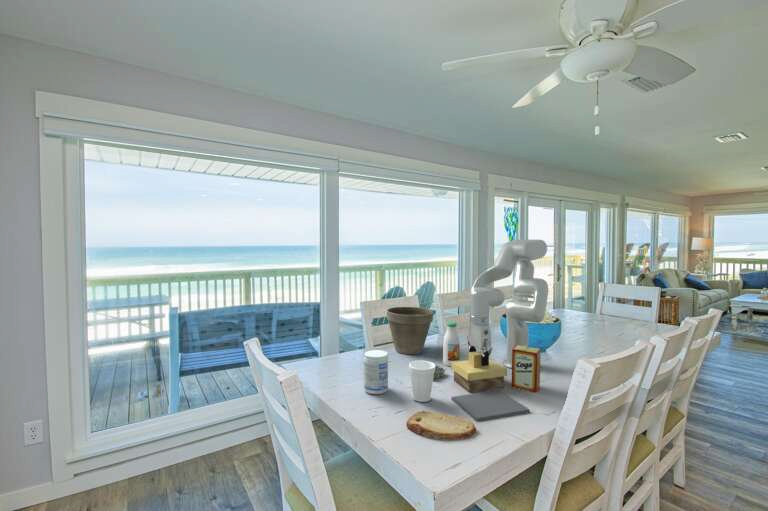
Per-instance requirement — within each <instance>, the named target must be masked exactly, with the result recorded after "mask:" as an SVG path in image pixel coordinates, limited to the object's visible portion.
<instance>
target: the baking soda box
mask: <svg viewBox="0 0 768 511" xmlns="http://www.w3.org/2000/svg"><path fill="white" fill-rule="evenodd" d="M541 352H542V350H541V348H537V347H530V346H529V345H528V346H520V345H516V346H515V347H514V348H513V349H512V369H511V388H514V387H515V388H514V389H518V388H520V389H519V390H523V389H524V390H523V391H527V390H529V391H528V392H532V391H533V392H532V393H537V392H538V391H539V389H540V387H541V384H540V383H541ZM537 390H538V391H537Z"/></svg>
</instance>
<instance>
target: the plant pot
mask: <svg viewBox="0 0 768 511" xmlns="http://www.w3.org/2000/svg"><path fill="white" fill-rule="evenodd" d="M386 320H387V321H388V324H389V329H390V334H391V337H392V342H393V346H394V348H395V349H394V350H395V352H397V353H400V354H405V355H417V354H420V353H422V352H423V349H424V347H425V345H426V344H425V343H426V341H427V337H428V334H429V330H430V327H431V323H432V322H433V320H434V311H433V310H432V309H429V308H425V307H419V306H394V307H390V308H388V309H387V310H386Z"/></svg>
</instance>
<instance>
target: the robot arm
mask: <svg viewBox="0 0 768 511" xmlns="http://www.w3.org/2000/svg"><path fill="white" fill-rule="evenodd" d="M501 246H502V247H501V249H500V250H499V253H498V255H497V257H496V259H495V261H494V263H493V265H492V266H491V267H490V268H487V269H486V270H485V271H483V272H482V273H481V274H480V275H478V277H477V278H476V279H475V280H474V283H473V285H472V287H471V290H470V292H469V298H470V301H469V303H470V304H469V307H470V308H469V309H470V310H469V328H468V336H466V340H467V345H468V353H469V352H477V349H478V350H480V351H481V352H482V355H483V356H481V365H482V366H487V365H489V359H490V356H491V353H492V351H493V347H492V335H491V334H492V333H491V332H492V331H491V326H490V307H495V308H496V307H499V306H501V305H503V304H504V302H505V299H506V298H505V296H506V295H505V293H504V292H503V291H502V290H501V289H499V288H493V287H488V286H489V285H490V284H492V283H494V282H497V281H500V280H505V279H507V278H509V277H510V276H512V274H513V272H514V276H513V281H512V282H513V283H512V288H511V289H512V290H511V291H512V294H513V295H514V296H517V297H519V298H512V299H509V300H508V301H506V304H505V306H504V309H505V315H506V317H505V318H506V359H504V360H503V362H502V366H503V367H505V368H507V369H511V370H512V349H513V348H514V347H515V346H516V345H520V346H528V347H529V327H528V325H527V322H530V323H535V324H538V323H542V322H543V320H544V318H545V315H546V310H547V304H548V297H549V284H548V282H547V281H546V279H543V278H538V277H534V274H535V266H534V264H533V261H536V260H539V259H542V258H544V257H545V256H546V254H547V252H548V245H547V243H546V241H544V240H543V239H526V238H525V239H523V238H522V239H520V238H519V239H514V240H511V241H506V242H505V243H504V244H503V245H501ZM514 269H515V270H514ZM520 297H521V298H528V299H533V300H527V299H521V298H520ZM484 352H485V353H484Z"/></svg>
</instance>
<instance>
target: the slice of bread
mask: <svg viewBox="0 0 768 511" xmlns="http://www.w3.org/2000/svg"><path fill="white" fill-rule="evenodd" d="M406 428H407V430H411V431H412V432H414V433H415V434H417V435H419V436H422V437H425V438H428V439H429V438H430V439H433V440H448V441H452V440H453V441H456V440H465V439H467V438H468V439H469V438H471V437H473V436H475V433H476V434H477V432H478V431H477V428H476V426H475V424H474V423H473V422H472V420H470V419H466V418H464V417H460V416H459V417H458V416H455V415H452V414H447V413H441V412H440V413H439V412H433V411H429V410H420V411H418V412H416V413H413V414H412V415H411V416H410V417H409V418H408V419H407V421H406ZM476 431H477V432H476Z"/></svg>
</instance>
